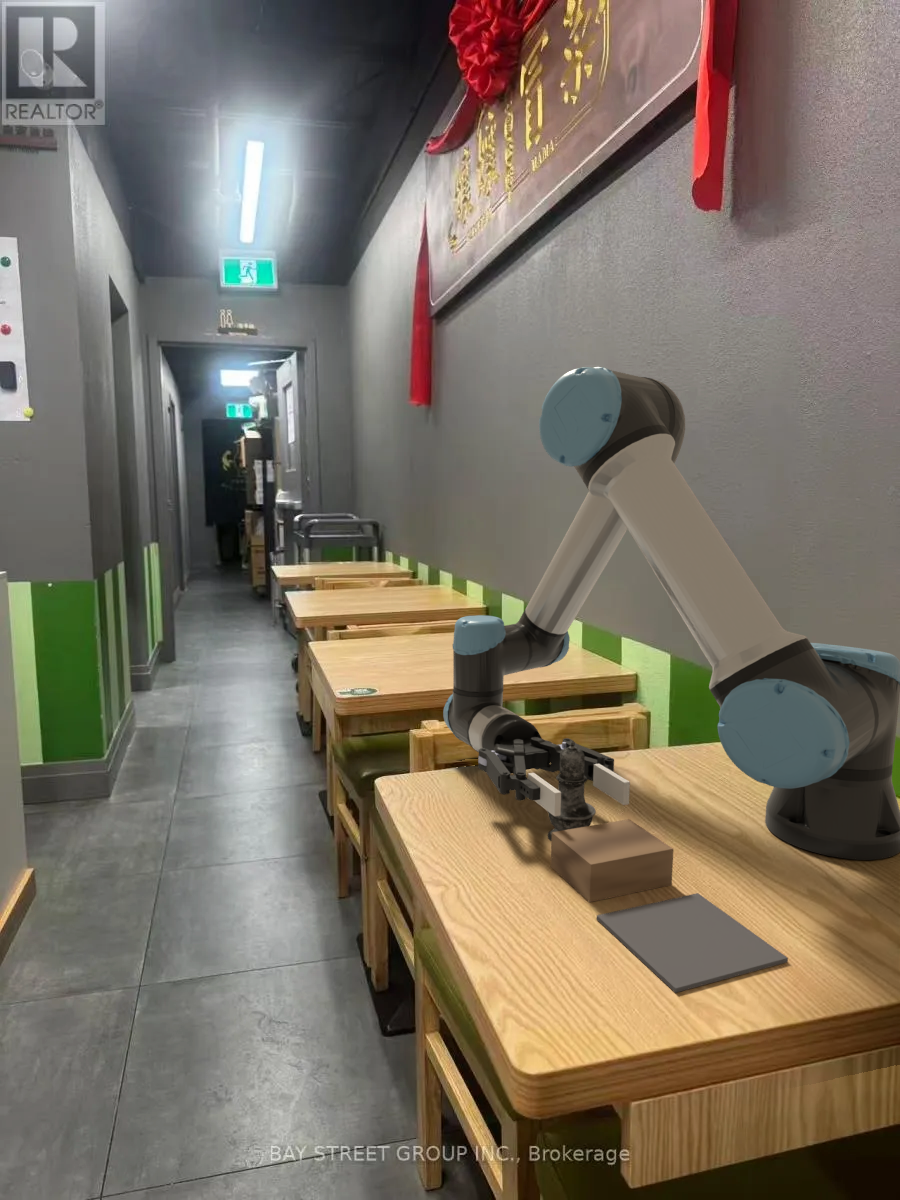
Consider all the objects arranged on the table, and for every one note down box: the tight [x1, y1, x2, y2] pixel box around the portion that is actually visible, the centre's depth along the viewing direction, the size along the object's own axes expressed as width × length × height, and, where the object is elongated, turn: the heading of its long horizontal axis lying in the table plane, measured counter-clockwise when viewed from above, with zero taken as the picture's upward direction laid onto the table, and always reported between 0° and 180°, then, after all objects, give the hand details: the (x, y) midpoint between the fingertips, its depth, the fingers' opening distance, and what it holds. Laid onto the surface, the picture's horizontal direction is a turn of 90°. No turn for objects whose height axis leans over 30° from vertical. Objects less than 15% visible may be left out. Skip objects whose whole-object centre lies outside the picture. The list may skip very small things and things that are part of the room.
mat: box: [596, 892, 789, 993], centre depth 72 cm, size 12×12×1 cm
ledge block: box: [550, 818, 674, 903], centre depth 84 cm, size 8×10×4 cm
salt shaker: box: [545, 739, 597, 842], centre depth 93 cm, size 6×6×12 cm
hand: (592, 798), depth 88 cm, fingers open, 8 cm apart
